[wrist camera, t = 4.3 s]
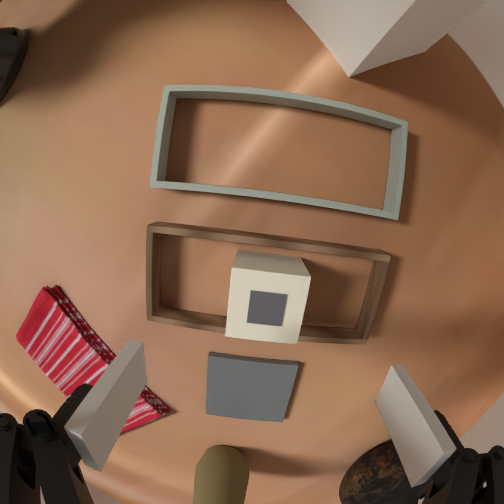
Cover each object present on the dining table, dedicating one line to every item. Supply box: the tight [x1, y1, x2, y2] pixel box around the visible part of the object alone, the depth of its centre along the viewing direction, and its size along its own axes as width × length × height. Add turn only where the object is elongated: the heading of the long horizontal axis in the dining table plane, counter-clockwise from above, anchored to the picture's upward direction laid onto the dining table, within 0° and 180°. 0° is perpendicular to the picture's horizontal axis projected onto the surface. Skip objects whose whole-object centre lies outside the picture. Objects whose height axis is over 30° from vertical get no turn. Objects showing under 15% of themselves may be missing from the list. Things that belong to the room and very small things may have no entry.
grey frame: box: [150, 85, 408, 220], centre depth 23 cm, size 23×10×2 cm, turn 83°
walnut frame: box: [146, 222, 391, 344], centre depth 26 cm, size 23×10×2 cm, turn 83°
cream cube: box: [225, 249, 311, 344], centre depth 24 cm, size 6×6×6 cm
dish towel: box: [16, 285, 171, 433], centre depth 30 cm, size 17×24×3 cm
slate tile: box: [206, 352, 299, 422], centre depth 30 cm, size 10×10×1 cm
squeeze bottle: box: [193, 446, 249, 504], centre depth 25 cm, size 8×8×18 cm
